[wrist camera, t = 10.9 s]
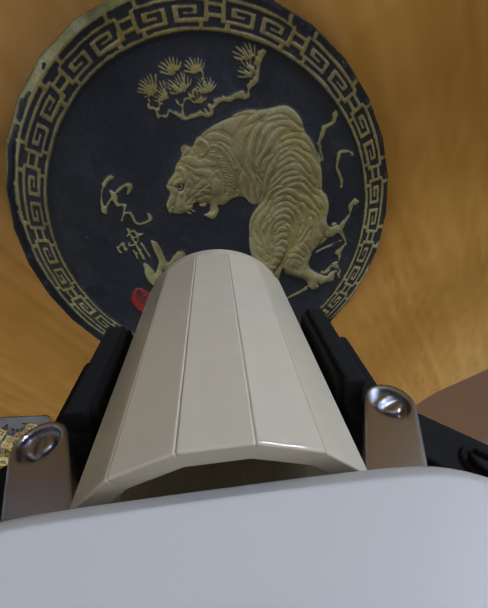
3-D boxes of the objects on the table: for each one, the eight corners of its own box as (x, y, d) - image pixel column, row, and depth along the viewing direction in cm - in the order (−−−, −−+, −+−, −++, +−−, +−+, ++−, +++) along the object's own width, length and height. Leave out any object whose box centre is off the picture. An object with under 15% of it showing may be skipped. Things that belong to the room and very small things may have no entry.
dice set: (37, 423, 35) (28, 437, 33) (49, 448, 37) (41, 463, 36) (-9, 425, 34) (-21, 440, 32) (6, 451, 37) (-4, 466, 35)
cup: (163, 370, 15) (116, 608, 8) (133, 254, 12) (-2, 474, 4) (283, 357, 16) (353, 572, 8) (287, 242, 12) (414, 423, 5)
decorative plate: (133, 405, 32) (-125, 83, 17) (137, 392, 34) (-96, 88, 18) (395, 322, 30) (383, -124, 15) (386, 312, 32) (365, -99, 16)
